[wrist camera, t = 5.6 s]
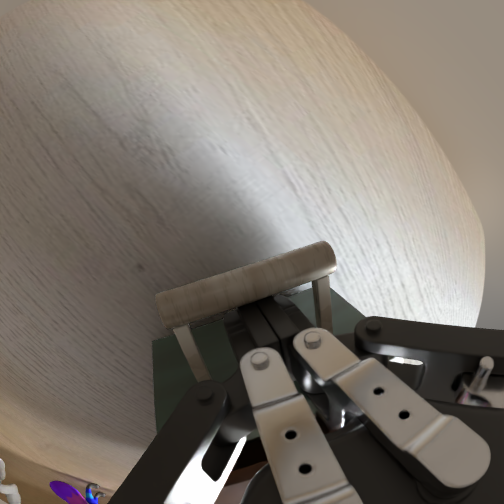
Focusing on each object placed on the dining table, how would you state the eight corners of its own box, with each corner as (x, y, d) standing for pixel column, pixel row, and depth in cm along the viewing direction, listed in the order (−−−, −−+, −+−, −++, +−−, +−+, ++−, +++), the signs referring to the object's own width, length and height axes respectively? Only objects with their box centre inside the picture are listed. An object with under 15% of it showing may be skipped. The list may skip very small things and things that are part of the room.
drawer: (118, 265, 14) (88, 361, 7) (315, 206, 16) (416, 247, 9) (215, 447, 21) (238, 518, 14) (331, 403, 23) (374, 462, 16)
